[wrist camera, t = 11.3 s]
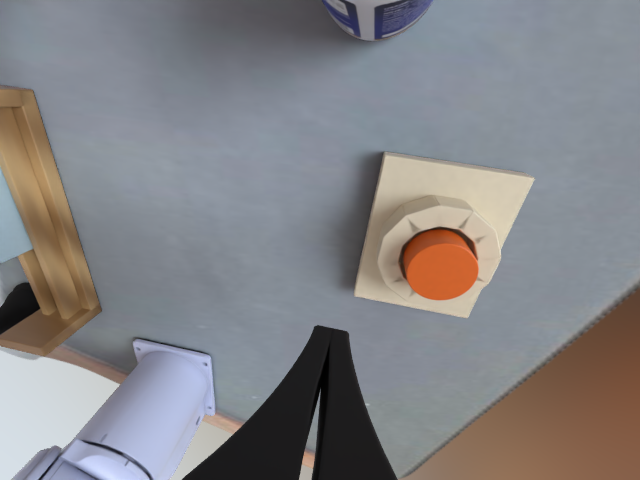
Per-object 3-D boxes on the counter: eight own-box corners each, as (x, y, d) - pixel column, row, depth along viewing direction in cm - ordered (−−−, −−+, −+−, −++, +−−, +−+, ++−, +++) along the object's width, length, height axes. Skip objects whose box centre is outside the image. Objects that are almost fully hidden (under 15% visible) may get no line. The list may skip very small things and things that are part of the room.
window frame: (102, 311, 28) (44, 357, 23) (64, 302, 28) (0, 346, 23) (33, 89, 19) (-86, 87, 14) (-21, 81, 19) (-155, 76, 14)
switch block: (462, 307, 21) (476, 338, 18) (354, 286, 22) (352, 313, 19) (524, 172, 16) (554, 187, 14) (384, 151, 17) (386, 161, 14)
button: (456, 287, 17) (464, 306, 16) (396, 276, 18) (399, 293, 16) (478, 235, 16) (490, 250, 14) (412, 223, 16) (416, 237, 14)
